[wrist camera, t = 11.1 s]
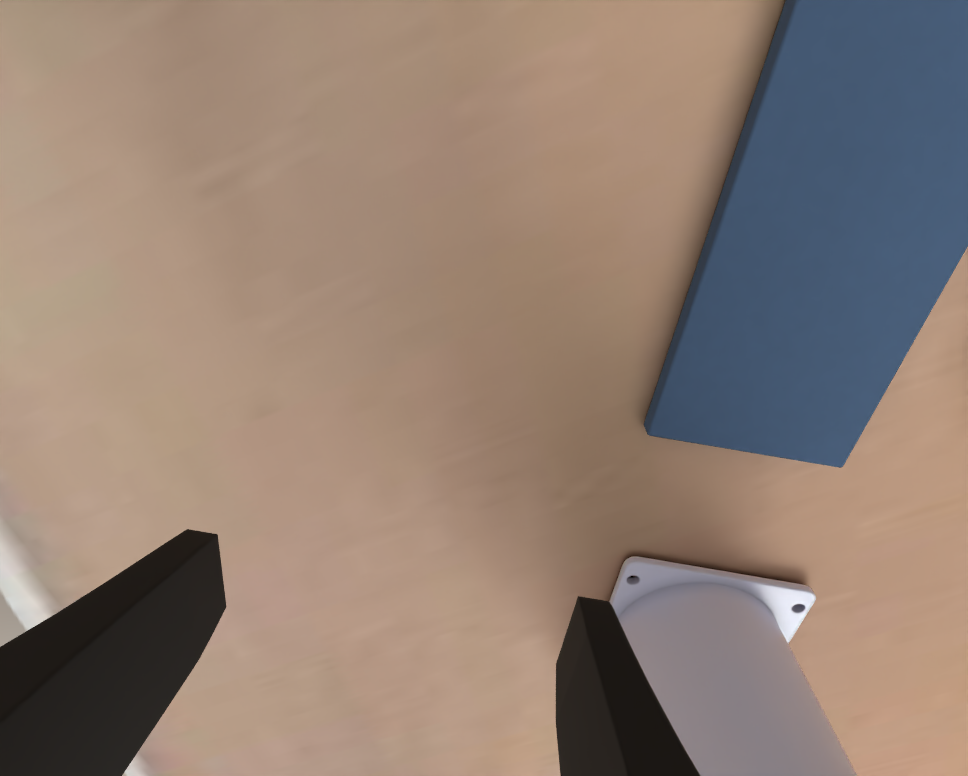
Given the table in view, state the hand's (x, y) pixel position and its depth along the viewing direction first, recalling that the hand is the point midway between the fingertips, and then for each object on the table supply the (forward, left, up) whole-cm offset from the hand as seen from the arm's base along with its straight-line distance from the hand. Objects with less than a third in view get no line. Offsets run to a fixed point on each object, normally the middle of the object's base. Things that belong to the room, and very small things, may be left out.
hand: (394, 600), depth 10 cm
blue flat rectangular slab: (+7, -11, -9) cm, 16 cm away
